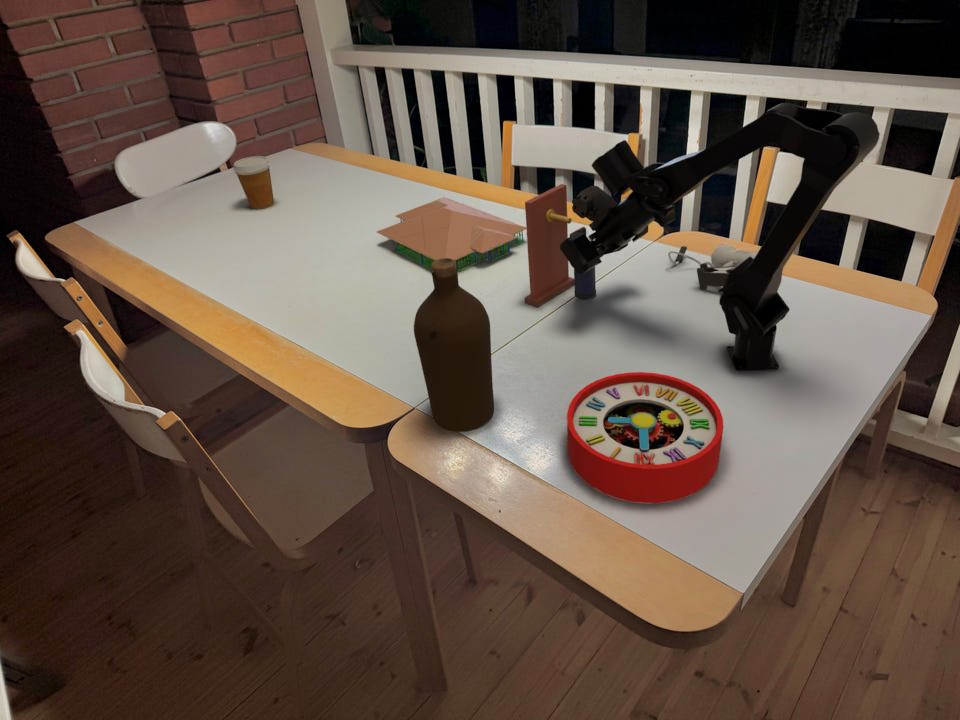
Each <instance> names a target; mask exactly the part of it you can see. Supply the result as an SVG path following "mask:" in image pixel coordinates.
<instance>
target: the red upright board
mask: <svg viewBox="0 0 960 720" xmlns="http://www.w3.org/2000/svg"><path fill="white" fill-rule="evenodd" d="M567 189H568V187H567V184H563V183H560V184H559V185H556V186H555V187H552V188H550V189H548V190H546V191H545V192H543V193H540V194H538V195H536V196H534V197H532V198H530V199H528V200H526V201H525V202H524V207H525V227H526V228H527V229H526V242H527V243H526V244H527V260H528V261H527V262H528V273H529V275H528V276H529V294H528V295H526V296H524V304H528V305H530V306H532V307H535V308H539V307H541V306H543V305H544V304H546V303H547V302H549V301H550V300H552V299H553V298H555V297H556V296H558V295H560V294H561V293H563V292H565V291H566V290H568V289H569V288H572V287H573V286H575V282H574V277H571V276H570V274H569V261H568V259H567V258H566V257H565V255H564V254H563V252H562V251H561V250H560V244H561V243H562V242H563V241H564V240H565V239H567V238H569V237H568V235H569V233H568V230H569V229H568V224H572V221H573V220H572V219H573V218H571V217H569V216H568V198H567V197H568V195H567V192H568V190H567Z"/></svg>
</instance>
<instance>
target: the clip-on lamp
mask: <svg viewBox="0 0 960 720" xmlns="http://www.w3.org/2000/svg"><path fill="white" fill-rule="evenodd" d="M687 249H688V244H686V243H685V244H684V245H682V246H680V248H679V251H671V250H670V251H669V252H668V254H667V256H668V259H669V261H670V262H671V264H673V265H677V266H678V264H679V263H682V261H683V258H684V257H685V258H687V259H689V260H691V261H693V262H696V263H697V264H698V265H699V267H698V268H697V269H696V274H697V280H698V284H699V285H698V286H699V289H700V290H707V289H708V287H709V286H710V287H721V288H722V287H723V286H724V285H725V283H726V281H727V278H728V275H729V273H730V271H731V270H733V269H734V268H735V267H736V266H738V265H739V264H740V263H742V262H743V261H744V260H746V259H747V258H748V257H749V256H751V257H752V258H753V259H754V258H755V256H756V255H757V253H758V251H751V250H743V249H736V247H734V246H733V245H731V244H727V243H722V244H719V245H717V246H715V248H714V249H713V251H712V253H711V255H710V258H711V259H710V260H711V262H710V261H704V262H701V261H700V260H698V259H696V258H694V257H692V256H689V255H687V254H686V251H687ZM671 254H675V255H676V258H675V262H674V260H673V258H672V257H671Z"/></svg>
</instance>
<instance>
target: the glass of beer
mask: <svg viewBox="0 0 960 720" xmlns="http://www.w3.org/2000/svg"><path fill="white" fill-rule="evenodd" d="M270 166H271V162H270V161H269V159H268V157H266V156H264V155H263V156H262V155H254V156H253V155H252V156H247V157H244V158H241V159H238V160H236V161H234V163H233V170H232V171H233V172H234V173H235V174H236V176H237V179H238V181H239V183H240V185H241V187H242V190H243V193H244V194H245V197H246V199H247V201H248V204H249V206H250V208H251V209H254V210H262V209H263V210H264V209H267V208H269V207H271V206H273V205H274V204H275V199H274V191H273V185H272V178H271V170H270Z"/></svg>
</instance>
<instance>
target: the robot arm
mask: <svg viewBox="0 0 960 720" xmlns="http://www.w3.org/2000/svg"><path fill="white" fill-rule="evenodd" d="M879 140H880V131H879V128H878V124H877V123H876V121H875V120H874V119H873V118H872V117H871V116H870V115H869V114H867V113H864V112H861V111H860V112H859V111H851V112H848V113H843V112H839V111H836V110H830V109H822V108H812V107H805V106H801V105H797V104H794V103H791V102H781V103H779V104H777V105H775V106H773V107H771V108H769V109H768V110H766V111H764V112H763V113H762V114H761V116H759V117H757V118H756V119H754V120H753V121H751V122H749V123H747V124H745V125H744V126H742V127H741V128H738V129H737V130H736V131H734V132H732V133H730V134H729V135H727V136H725V137H722V138H721V139H720V140H718V141H716V142H715V143H713V144H711V145H709V146H708V147H706V148H704V149H702V150H699V151H694V152H690V153H687V154H685V155H681V156H679V157H676V158H674V159H672V160H670V161H668V162H652V163H651V164H649V165H647V166H645V167H644V165H643V164H642V162H641V161H640V160H639V158H638V157H637V155H636V154H635V153H634V152H633V150H632V148H631V146H630V144H629V143H628V141H627V140H626V139H623V140H621V141H619V142H618V143H616V144H615V145H614V146H613V147H611V148H609V150H607V151H606V152H604V153H603V154H602V155H600V156H598V157H597V158H596V159H595V160H594V161H593V162H592V163H591V168H592V170H594V172H595V173H596V174H597V176H598V178H599V179H600V180H601V182H602V183H603V185H604V186H605V187H606V188H607V190H608V191H609V192H610V194H608V193H607V192H606V191H605V190H603V189H602V188H601V187H599V186H597V185H591V186H589V187H587V188H585V189H583V190H581V191H579V194H577V195H576V197H575V198H574V199H573V200H571V204H572V207H571V209H572V210H571V211H572V212H573V213H574V214H575V215H577V216H578V217H579V218H581V219H587V220H588V221H591V223H589V224H588V226H589V228H590V229H591V230H592V232H593V233H590V234H589V235H587V234H586V235H585V234H584V233H580V232H578V233H576V234H574V235H572V236H571V237H570V236H569V237H568V238H567V239H565V240H564V241H563V242H562V243H561V244H560V250H561V251H562V252H563V254H564V255H565V257H566V258H567V259H568V263H569V265H570V266H571V267H572V268H573V270H574V269H575V271H576V272H577V273H578V274H580V275H582V274H584V273H585V272H587V271H588V270H590V269H592V268H593V267H594V266H595V267H596V266H598V265H599V264H601V263H602V262H603V261H602V259H601V258H602V257H604V256H605V255H609V254H613V253H617V252H620V251H622V250H623V249H625V248H626V247H628V246H629V243H630V242H631V241H632V242H633V243H635V242H636V241H638V240H640V239H641V238H643V237H644V236H645V235H647V234H648V233H649V225H650V224H651V223H653V222H654V221H656V222H657V224H658V226H659V227H661V228H664V227H665V226H667V225H668V224H670V223H671V222H673V221H675V220H676V212H675V208H676V206H675V205H674V204H675V203H676V202H678V201H679V200H682V199H683V198H684V197H686V196H688V195H689V194H691V193H692V192H694V191H695V190H697V188H699V187H700V186H701V185H702V184H704V183H705V182H706V181H707V180H708V179H709V178H710V177H711V176H713V175H714V174H715V173H717V172H718V171H720V170H722V169H724V168H726V167H728V166H730V165H732V164H733V163H736V162H737V161H739V160H741V159H743V158H745V157H746V156H749V155H750V154H752V153H754V152H756V151H757V150H760V149H761V148H763V147H765V146H767V145H769V144H771V143H773V144H777V145H779V146H781V147H782V148H784V149H785V150H787V151H788V152H789V153H791V154H792V155H793V156H796V157H798V158H801V159H803V161H802V165H801V172H800V173H801V174H800V180H799V182H798V185H797V186H796V188H795V189H794V191H793V193H792V195H791V196H790V198H789V200H788V202H787V203H786V204H785V206H784V207H783V210H782V211H781V213H780V215H779V216H778V218H777V219H776V221H775V223H774V224H773V226H772V228H771V230H770V231H769V233H768V234H767V236H766V238H765V239H764V242H763V243H762V245H761V246H760V247H759V250H758V251H757V252H758V253H757V255H756V256H755V258H754V259H753V258H752V257H751V256H749V257H748V258H747V259H746V260H744V261H743V262H742V263H740V264H739V265H738V266H736V267H735V268H734V269H733V270H731V271H730V273H729V275H728V278H727V281H726V283H725V285H724V286H723V287H722V286H721V287H720V288H719V289H718V293H721V294H720V297H719V299H718V301H719V303H718V305H720V307H721V311H722V312H723V313H724V316H725V321H726V325H727V330H728V333H730V334H731V335H735V336H734V341H733V342H734V343H733V345H727V346H726V347H725V351H726V353H727V355H728V357H729V359H730V362H731V364H732V366H733V368H734V370H735V371H736V372H751V371H768V370H770V371H771V370H779V368H780V365H779V362H778V361H777V359H776V357H775V355H774V353H773V352H774V347H775V341H776V335H777V329H778V326H777V325H778V324H779V323H780V322H781V321H783V320H784V319H785V317H786V316H787V315H788V313H789V312H790V307H789V306H788V305H787V303H786V302H785V301H784V299H783V298H782V296H781V295H780V294H779V292H778V291H779V288H780V286H781V283H782V279H783V271H784V268H785V266H786V265H787V263H788V261H789V260H790V258H791V257H792V256H793V254H794V253H795V251H796V249H797V248H798V246H799V244H800V243H801V241H802V240H803V238H804V236H805V235H806V234H807V232H808V231H809V229H810V227H811V226H812V224H813V223H814V221H815V220H816V218H817V217H818V215H819V214H820V212H821V211H822V209H823V207H824V206H825V204H826V203H827V201H828V200H829V198H830V196H831V195H832V193H833V192H834V191H835V189H836V188H837V187H838V186H839V185H840V184H841V183H843V181H844V180H845V179H846V178H848V176H849V175H850V174H851V173H852V172H853V171H854V170H855V169H856V168H857V167H858V166H859V165H860V164H861V163H862V162H863V161H864V160H865V159H866V157H868V155H869V154H870V153H871V152H872V151H873V150H874V149H875V148H876V147H877V145H878V142H879ZM629 191H631V192H630V194H628V195H627V196H626V197H625V198H624V199H622V200H621V201H620V202H617V201H616V200H614V199H615V198H613V197H614V196H615V195H617V194H619V195H620V196H623V195H625V194H627V193H628V192H629Z"/></svg>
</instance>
